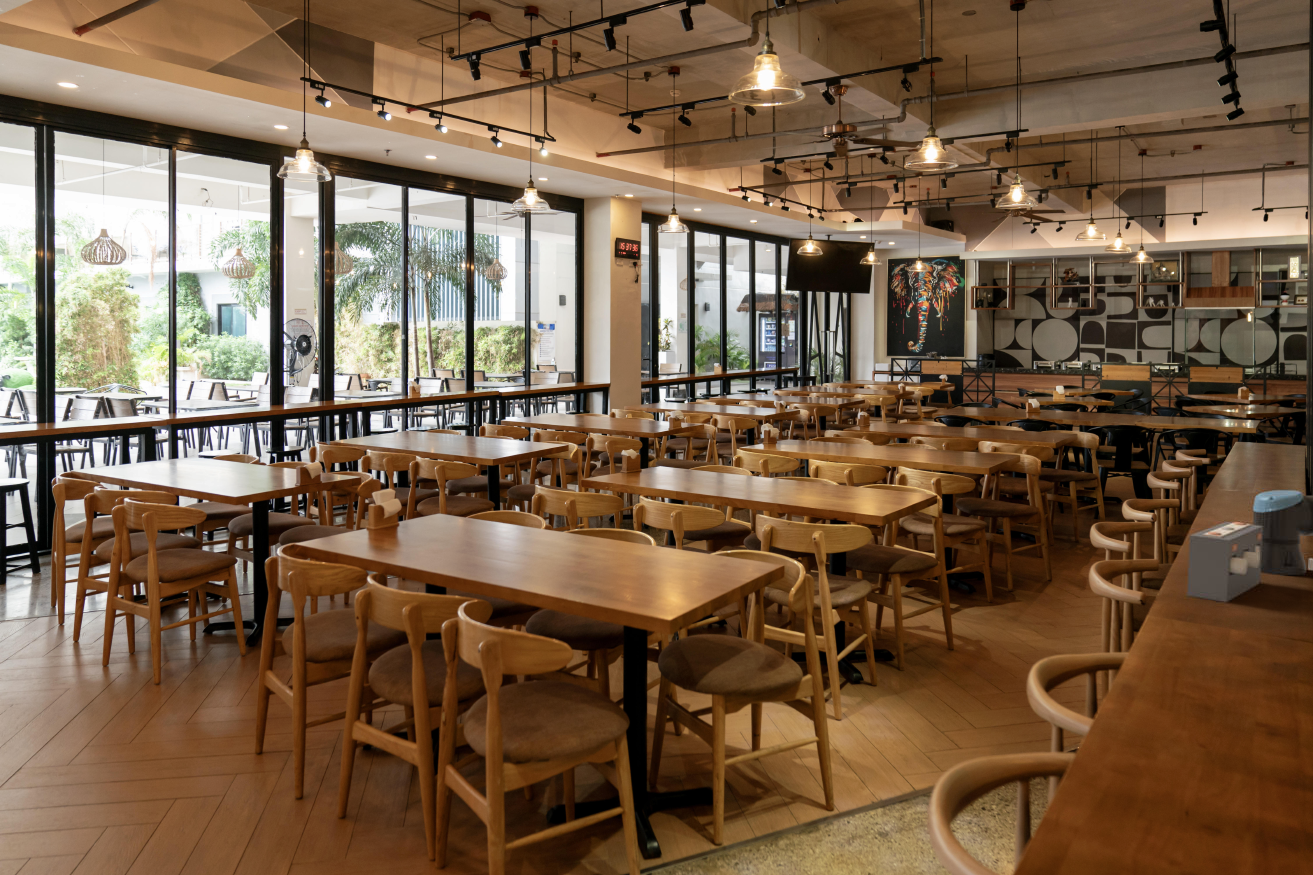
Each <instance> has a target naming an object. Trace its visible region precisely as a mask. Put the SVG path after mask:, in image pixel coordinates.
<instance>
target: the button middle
mask: <svg viewBox="0 0 1313 875" xmlns="http://www.w3.org/2000/svg"><path fill="white" fill-rule="evenodd" d="M1243 559H1247V562H1248V567H1253V568H1258V566H1259V563H1260V555H1259V553H1255V552H1247V551H1243Z"/></svg>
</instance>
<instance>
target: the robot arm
mask: <svg viewBox="0 0 1313 875" xmlns="http://www.w3.org/2000/svg"><path fill="white" fill-rule="evenodd" d="M1252 511H1253V517H1252V525H1258V526H1263V535H1262V555H1261V573H1264V574H1271V575H1281V576H1301V575H1306V573H1307V570H1310V571H1313V558H1308V563H1307V564H1306V561H1305V558H1304V554H1303V551H1302V549H1301V536H1313V495H1304V494H1303V493H1302V492H1301V491H1298V490H1292V489H1291V490H1290V489H1289V490H1287V489H1286V490H1283V489H1281V490H1279V489H1278V490H1270V491H1269V490H1268V491H1263V492H1260V493H1258V494H1256V496H1255V497H1254V503H1253V507H1252ZM1307 565H1308V566H1307Z"/></svg>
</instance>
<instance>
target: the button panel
mask: <svg viewBox="0 0 1313 875" xmlns="http://www.w3.org/2000/svg"><path fill="white" fill-rule="evenodd" d="M1262 535H1263V526H1258V525H1253V524H1250V523H1246V522H1241V521H1239V522H1238V521H1237V522H1235V521H1234V522H1230V521H1224V522H1222V523H1220V524H1217V525H1214V526H1212V527H1208V528H1206V529H1203V530H1201V531H1198V532H1195V533H1192V534H1190V535H1189V544H1188V545H1189V547H1188V548H1189V550H1188V551H1189V552H1188V567H1187V568H1188V572H1187V589H1186V590H1187V591H1186V592H1187V595H1186V596H1187V597H1194V598H1200V599H1206V600H1211V601H1216V602H1217V601H1219V602H1224V603H1227V602H1230V601H1231V600H1233V599H1234V598H1236V597H1238V596H1240V595H1242V594H1243V593H1245V592H1247V591H1249V590H1251V589H1252V588H1254V587H1256V586H1258V585H1259V584H1261V573H1262V572H1261V555H1262ZM1255 545H1256V546H1259V547H1260V563H1259V566H1258V568H1253V567H1247V572H1246V574H1245V575H1244V574H1237V573H1230V557H1235V558H1242V559H1243V551H1247V552H1255Z"/></svg>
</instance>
